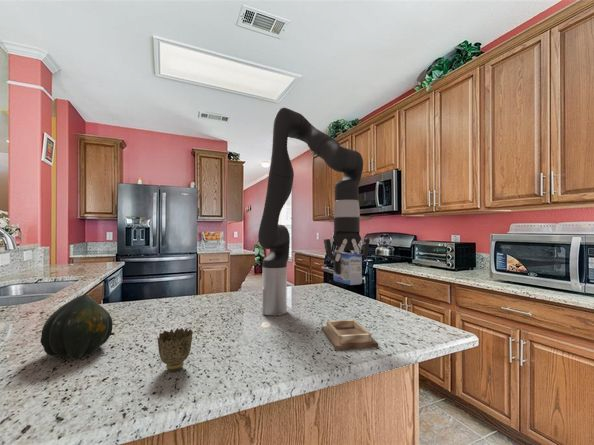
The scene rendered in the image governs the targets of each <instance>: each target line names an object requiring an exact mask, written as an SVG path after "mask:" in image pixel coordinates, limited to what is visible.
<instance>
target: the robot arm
mask: <svg viewBox="0 0 594 445" xmlns="http://www.w3.org/2000/svg"><path fill="white" fill-rule="evenodd" d="M273 121H274V122H273V128H272V147H271V148H272V150H271V157H270V165H269V172H268V177H267V186H266V193H265V194H266V195H265V200H264V201H265V202H264V207H263V211H262V212H263V213H262V216H261V220H260V224H259V229H258V233H257V234H258V236H257V239H258V243H259V245H260V247H261V248H262V249H264V250H269V253H268V254H267V255H266V256H265V257H264V258H263V259H262V265H261V266H262V274H261V275H262V276H261V277H262V279H261V280H262V282H261V284H262V286H261V312H262V315H263V316H281V315H284V314H286V313H287V311H288V310H287V308H288V304H287V300H288V298H287V296H288V293H287V292H288V291H287V290H288V286H287V284H288V282H287V281H288V280H287V279H288V277H287V276H288V275H287V274H288V272H287V271H288V260H289V259H290V258H289V257H290V242H291V241H290V240H291V237H290V231H289V229H288V228H287V227H286V226H285V225H283V224H279V220H280V214H281V212H282V210H283V208H284V206H285V204H286V202H287V201H288V199H289V198H290V195H291V193H292V191H293V190H292V189H293V184H294V178H295V176H294V174H295V173H294V167H293V165H292V161H291V158H290V155H289V152H288V138H290V139H295V140H299V141H301V142H304V143H305V144H306V145H307V147H308V148H309V150H310V151H311V152H312V153H313V154H315V155H317V156H318V157H320V159H322V160H323V162H325V163H326V165H327V166H328V167H329V168H330V169H331V170H333V171H335V172H339V173H343V177H342V180H339V181H337V182H336V183H335V184H334V205H333V206H334V207H333V236H332V237H329V238H324V239H323V244H324V249H325V255H326V258H327V259H329V260H332V261H333V263H332V266H333V267H332V268H333V273H334V272H335V273H336V274H340V262H339V259H340V256H341V254H342V253H343V252H345V251H350V253H353V254H361V255H362V260H364V259H367V258H368V253H369V247H370V244H371V243H370V242H371V239H370V238H367V237H365V238H364V237H362V236H361V235H360V232H361V231H360V229H361V227H360V226H361V224H360V223H361V222H360V221H361V220H360V219H361V218H360V217H361V211H360V203H359V198H360V196H359V193H360V192H359V186H360V183H361V179H362V174H363V171H364V159H363V156H362V155H361V153H360V152H359V151H357V150H353V149H349V148H347V147H344V146H341V144H340V143H339V142H338V140H336V139H335V138H333V137H331V136H330V135H328V134H326V133H325V132H323V131H321V130H319V129H318V128H316V127H315V126H314V125H313V124H312V123H310V121H309V120H308V119H307V118H306V117H305V116H304V115H302V114H301V113H300V112H298V111H294V110H292V109H290V108H288V107H287V108H286V107H281V108H279V109H278V110H277V111H276V114H275V116H274V120H273ZM333 243H334V244H335V249H334V252H333V248H332V246H333ZM359 244H360V245H361V247H360V250H359V247H358V245H359Z"/></svg>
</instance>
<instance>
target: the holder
mask: <svg viewBox="0 0 594 445" xmlns="http://www.w3.org/2000/svg"><path fill="white" fill-rule="evenodd" d="M320 329H321V332H322V333H323V334H324V336H325V338H326V339H327V340H328V342H329V343H330V344H331V346H332V347H333V348H334V350H335V351H340V350H341V351H342V350H352V349H354V350H356V349H367V348H368V349H369V348H379V342H378V341H376V340H375V338H373V337H372V334H371V333H370V331H368V330H367V329H366V328H365V327H364V326H362V324H360V323H359V322H358V321H357V320H356V319H343V320H342V319H341V320H340V319H339V320H327V321H326V325H322V326H320Z"/></svg>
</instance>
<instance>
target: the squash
mask: <svg viewBox="0 0 594 445" xmlns="http://www.w3.org/2000/svg"><path fill="white" fill-rule="evenodd" d="M113 326H114V325H113V318H112V316H111V314H110V313H109V311H107V310H106V309H105V308H104V307H103V306H102V305H101V304H99V303H98V302H97V301H96V300H95V299H93V297H91V296H90V295H88V294H83V295H79V296H77V297H75V298H73V299H71V300H69V301H68V302H66V303H65V304H63V305H62V306H60V307H59V308H58V309H56V310H55V311H54V312H53V313H52V314H51V315H50V316H49V317H48V318H47V320H46V321H45V323H44V325H43V327H42V330H41V337H40V344H41V345H42V347H43V351H44V352H45V353H46V354H47V355H49V356H52V357H53V356H54V357H59V356H61V357H64V356H68V357H69V358H71V359H74V360H75V359H76V360H77V359H79V358H81V357H82V356H84V354H85V355H89V354H92V353H94V352H96V351H97V350H99V348H100V347H101V346H103V345H104V344H105V343H107V341H108V340H109V339H110V336H111V335H112V331H113Z"/></svg>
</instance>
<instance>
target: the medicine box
mask: <svg viewBox="0 0 594 445" xmlns="http://www.w3.org/2000/svg"><path fill="white" fill-rule="evenodd" d="M362 260H363V259H362V255H361V254H353V253H352V252H345V251H343V253H342V254H341V256H340V259H339V262H340V274H336V273H335V272H334V271H333V281H334V282H336V283H340V284H345V285H347V286H355V285H361V284H362V283H363V282H362V281H363V277H362V276H363V273H362V272H363V270H362V269H363V268H362V266H363V264H362V262H363V261H362Z"/></svg>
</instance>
